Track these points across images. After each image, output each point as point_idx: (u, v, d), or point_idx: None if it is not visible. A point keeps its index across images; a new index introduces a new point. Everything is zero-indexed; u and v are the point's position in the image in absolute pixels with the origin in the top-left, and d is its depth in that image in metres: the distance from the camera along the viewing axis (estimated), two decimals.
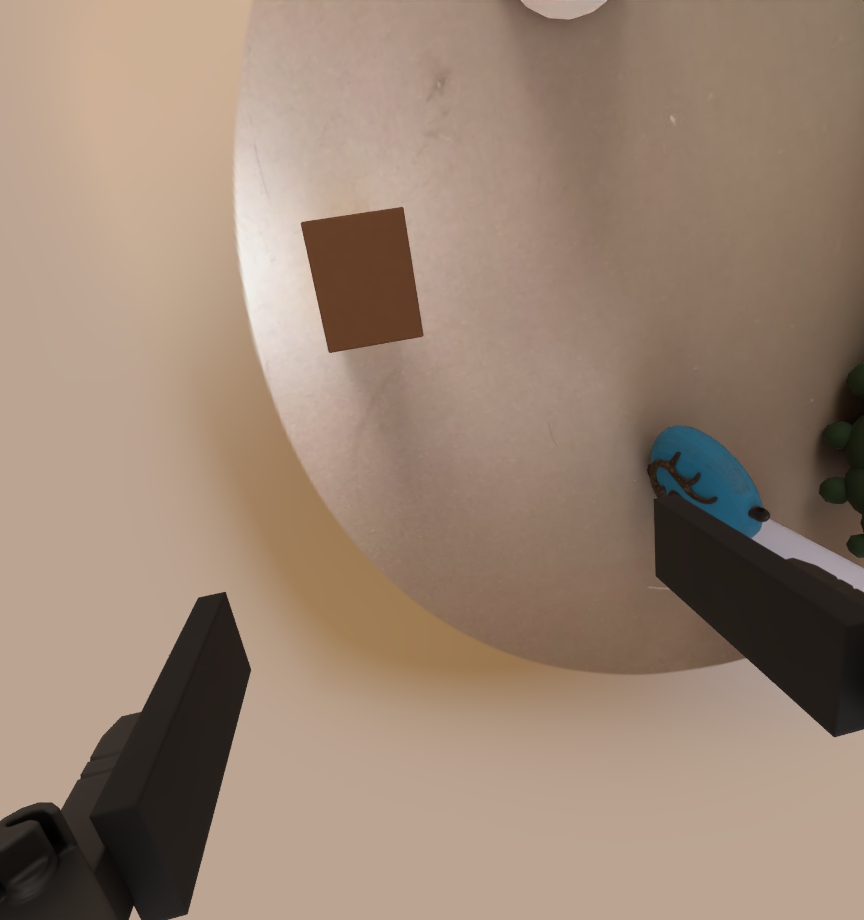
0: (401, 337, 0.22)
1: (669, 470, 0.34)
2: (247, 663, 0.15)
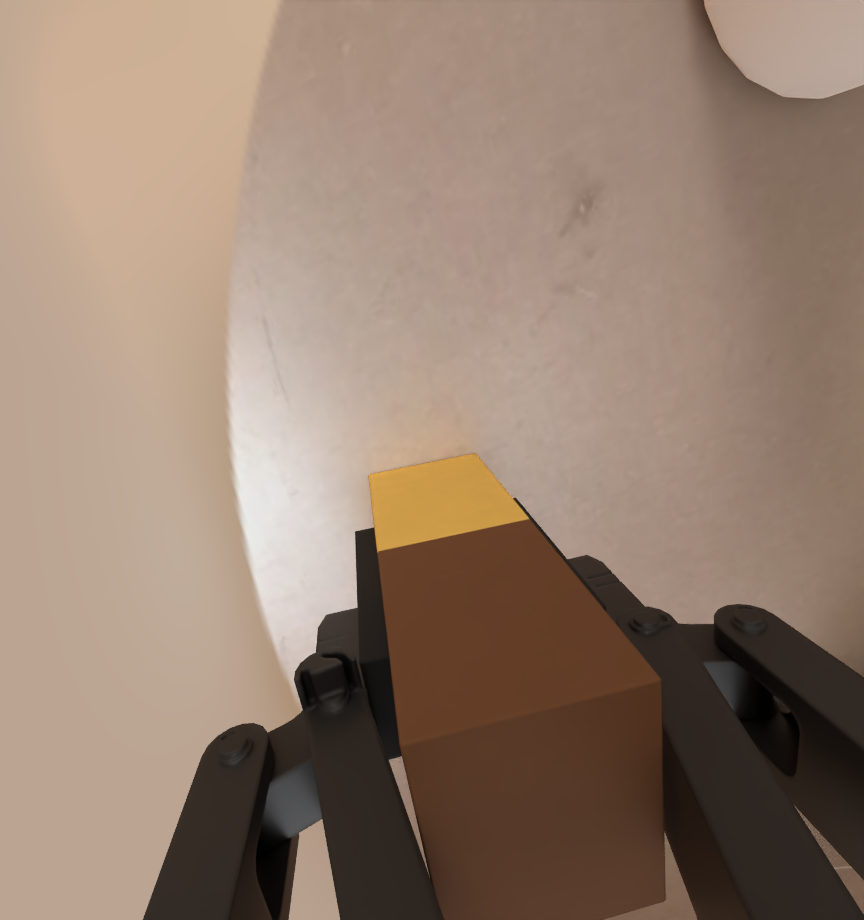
0: (618, 914, 0.09)
1: None
2: None
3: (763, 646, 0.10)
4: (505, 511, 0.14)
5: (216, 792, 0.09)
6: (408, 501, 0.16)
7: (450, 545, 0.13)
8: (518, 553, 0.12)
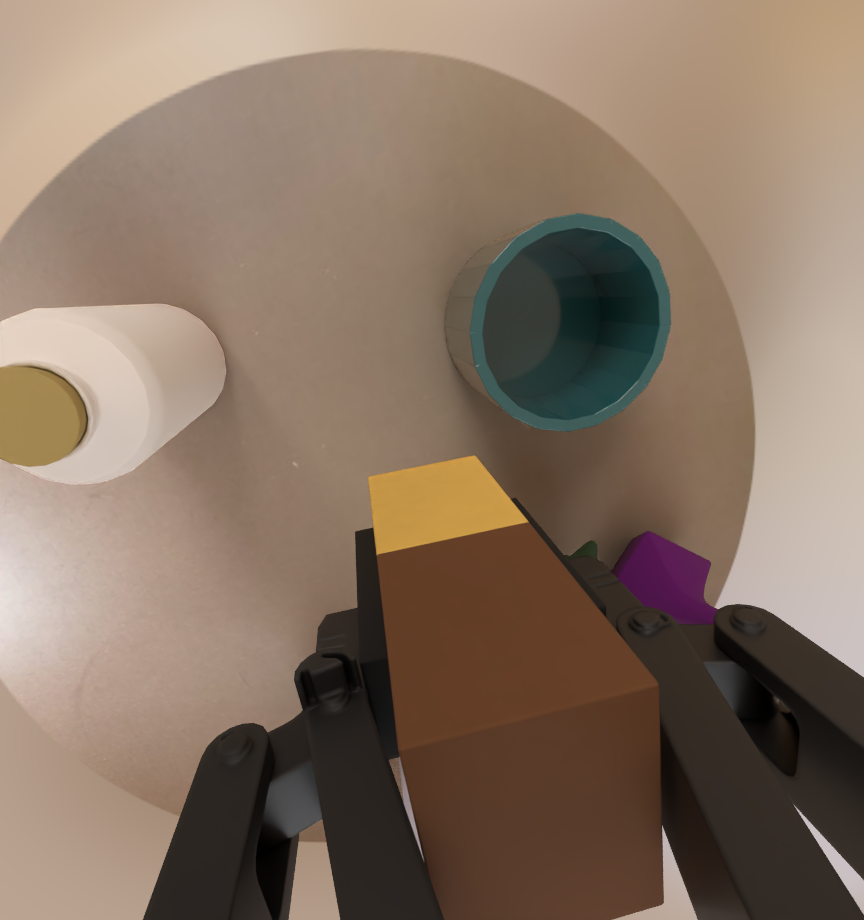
0: (616, 917, 0.09)
1: None
2: None
3: (763, 646, 0.10)
4: (504, 514, 0.14)
5: (216, 792, 0.09)
6: (407, 503, 0.16)
7: (449, 548, 0.13)
8: (517, 556, 0.12)
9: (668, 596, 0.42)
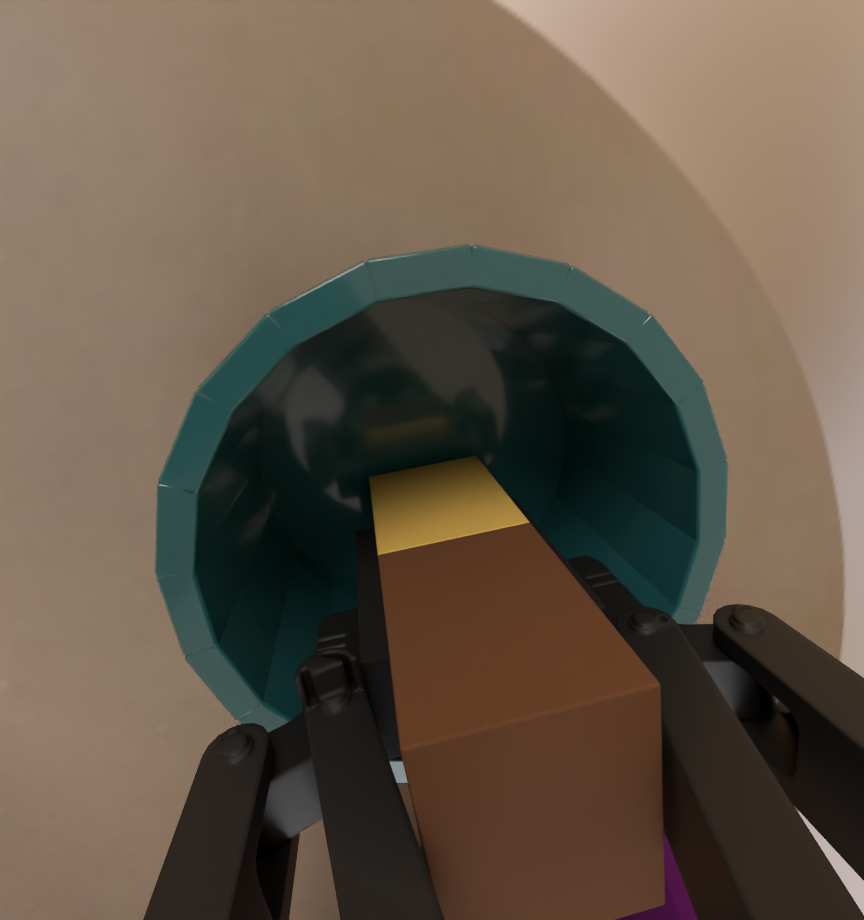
0: (618, 917, 0.09)
1: None
2: None
3: (762, 646, 0.10)
4: (505, 514, 0.14)
5: (217, 792, 0.09)
6: (408, 504, 0.16)
7: (450, 549, 0.13)
8: (518, 557, 0.12)
9: None
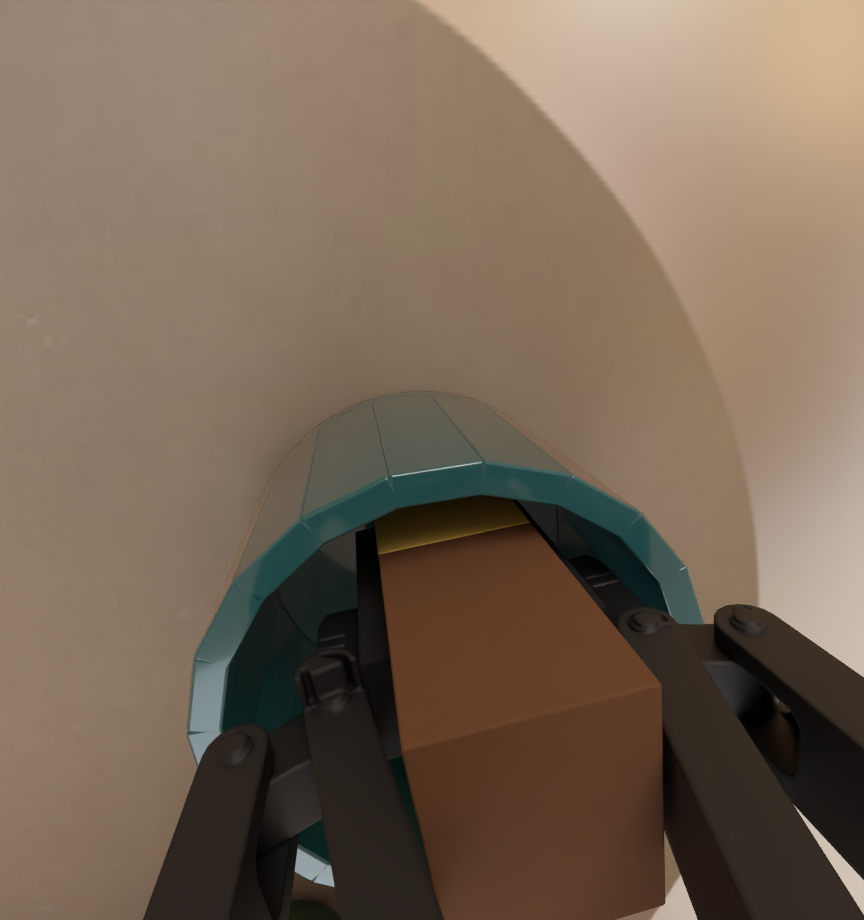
0: (618, 917, 0.09)
1: None
2: None
3: (762, 646, 0.10)
4: (506, 514, 0.14)
5: (216, 792, 0.09)
6: None
7: (450, 548, 0.13)
8: (519, 557, 0.12)
9: None
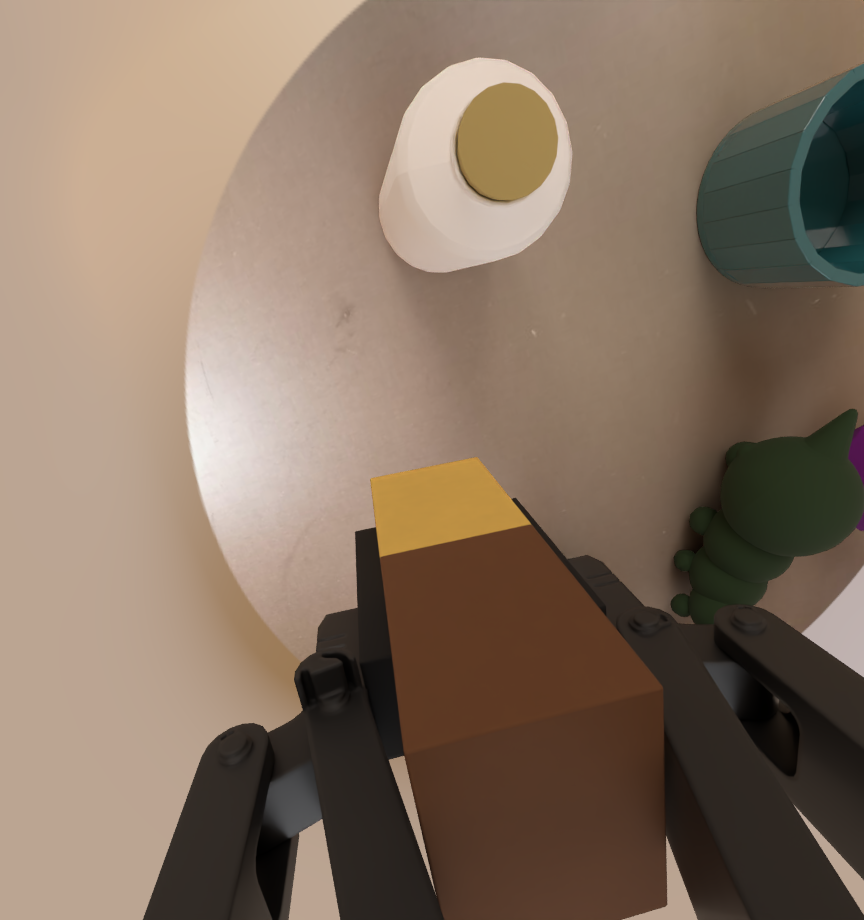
0: (620, 919, 0.09)
1: None
2: None
3: (763, 646, 0.10)
4: (507, 516, 0.14)
5: (216, 792, 0.09)
6: (410, 505, 0.16)
7: (452, 550, 0.13)
8: (520, 559, 0.12)
9: None
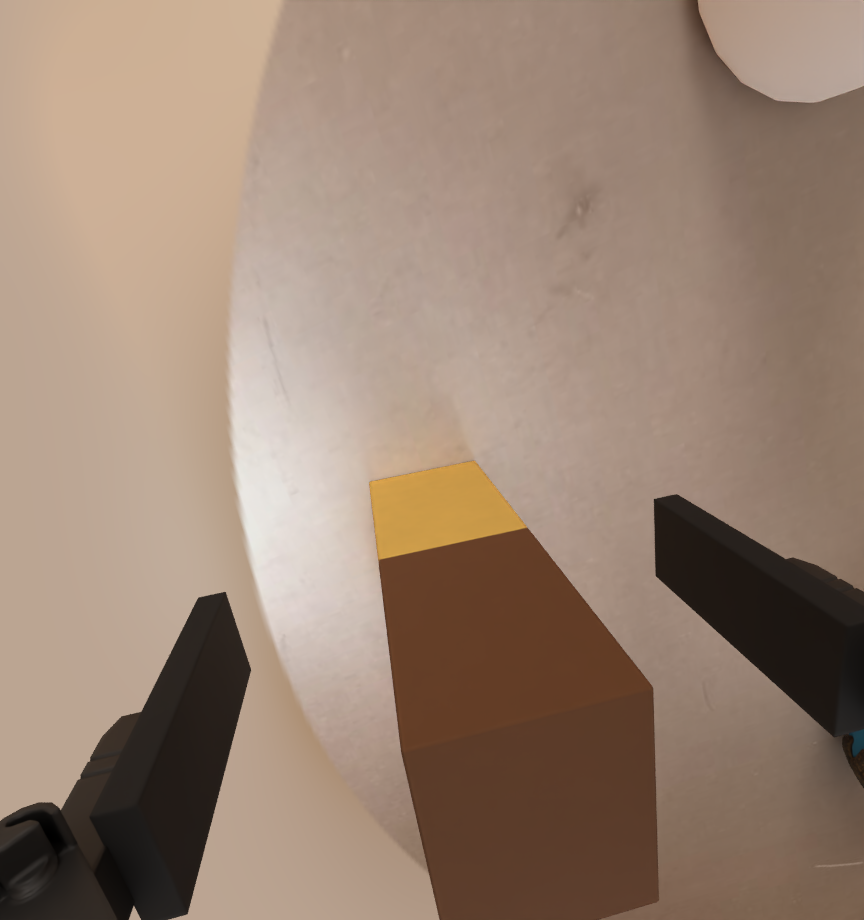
0: (613, 914, 0.09)
1: None
2: (247, 663, 0.15)
3: None
4: (503, 520, 0.14)
5: None
6: (408, 509, 0.16)
7: (449, 553, 0.13)
8: (516, 562, 0.12)
9: None
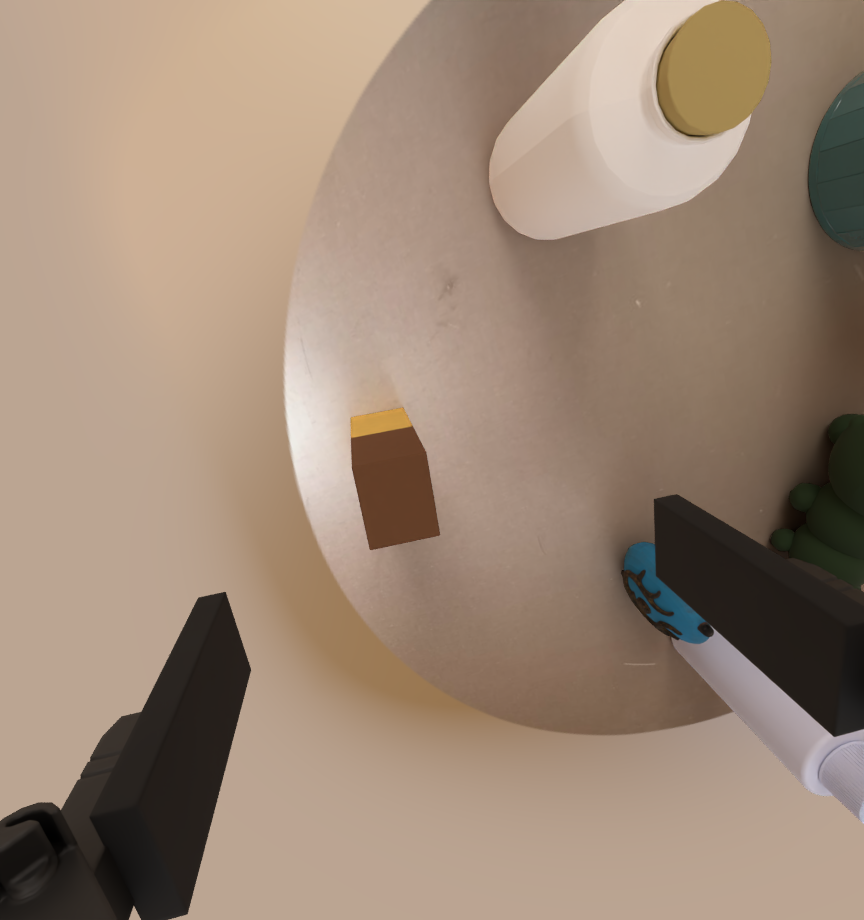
0: (423, 537, 0.29)
1: (637, 583, 0.41)
2: (247, 663, 0.15)
3: None
4: (404, 424, 0.34)
5: None
6: (366, 424, 0.36)
7: (379, 434, 0.33)
8: (402, 434, 0.32)
9: None
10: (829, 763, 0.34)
